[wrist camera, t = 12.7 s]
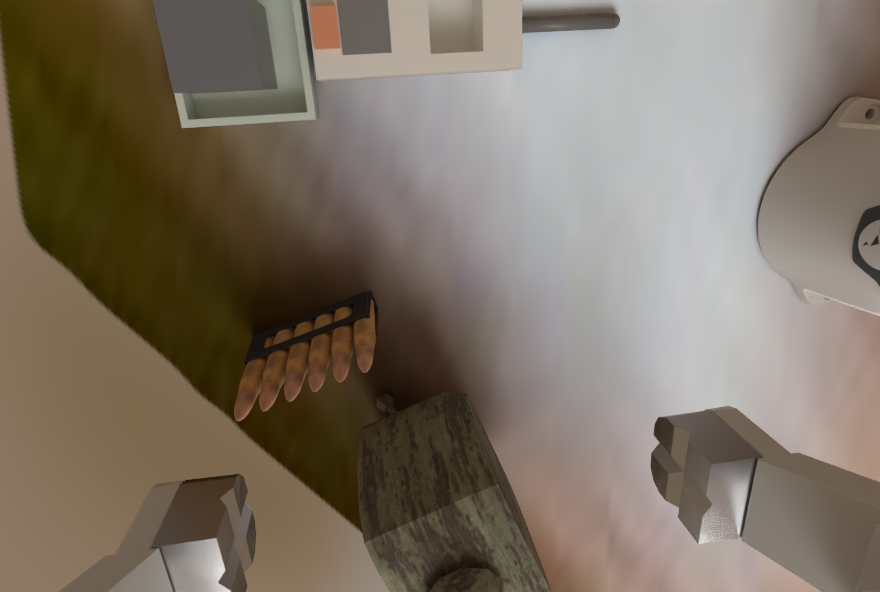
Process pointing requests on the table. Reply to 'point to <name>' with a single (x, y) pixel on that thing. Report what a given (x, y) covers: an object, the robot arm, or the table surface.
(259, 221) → the table surface
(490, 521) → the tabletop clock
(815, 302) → the robot arm
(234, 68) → the block
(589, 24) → the power strip
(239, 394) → the ammunition clip
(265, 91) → the parts tray
